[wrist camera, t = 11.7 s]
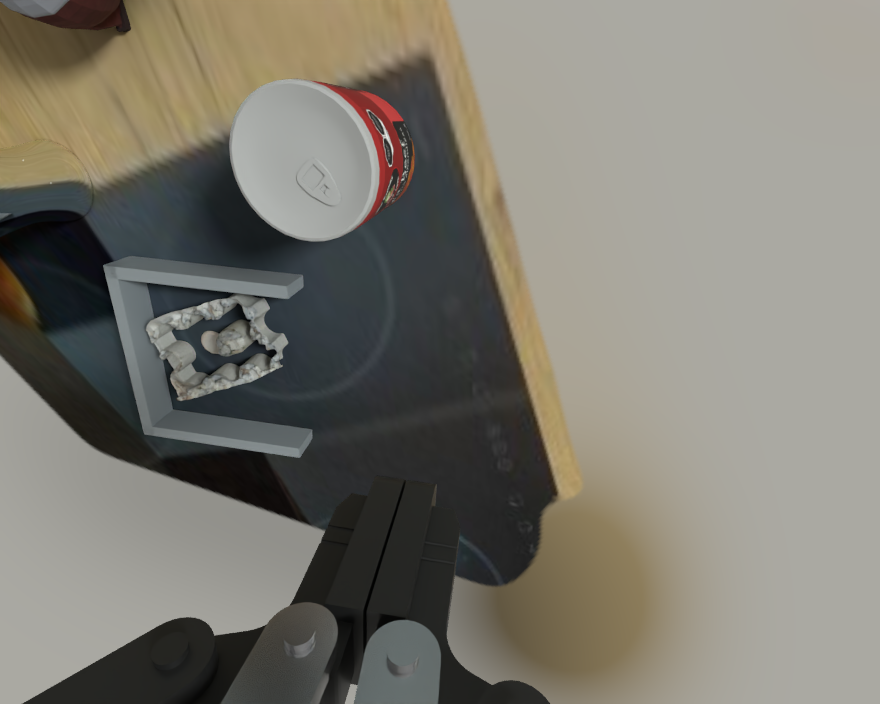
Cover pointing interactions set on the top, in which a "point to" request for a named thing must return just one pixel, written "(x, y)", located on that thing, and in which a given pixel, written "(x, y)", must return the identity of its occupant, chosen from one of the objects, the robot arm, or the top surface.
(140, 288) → the grey u-shaped frame
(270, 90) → the canned food
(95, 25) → the mate gourd
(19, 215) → the beer glass
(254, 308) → the egg carton
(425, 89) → the top surface
